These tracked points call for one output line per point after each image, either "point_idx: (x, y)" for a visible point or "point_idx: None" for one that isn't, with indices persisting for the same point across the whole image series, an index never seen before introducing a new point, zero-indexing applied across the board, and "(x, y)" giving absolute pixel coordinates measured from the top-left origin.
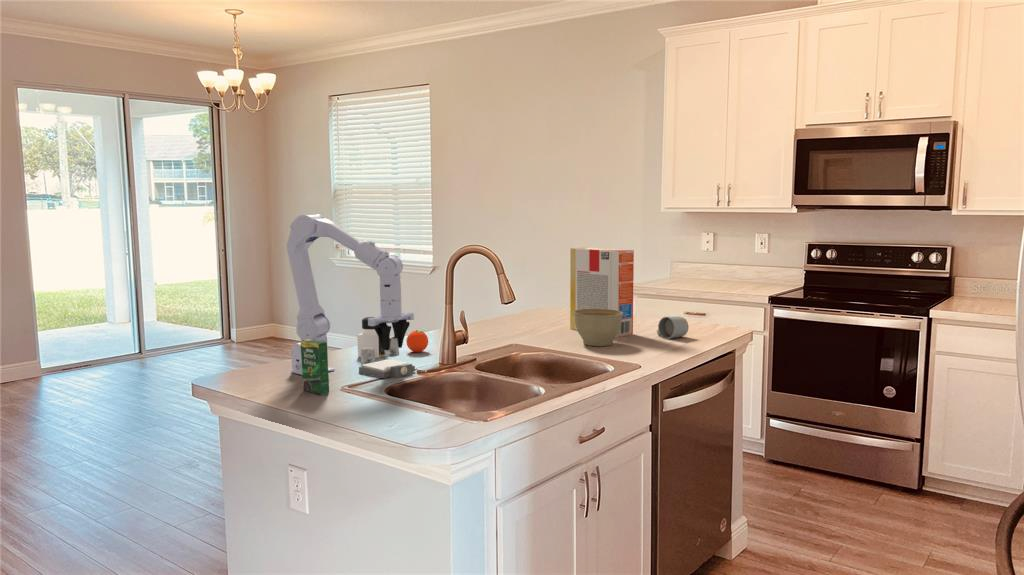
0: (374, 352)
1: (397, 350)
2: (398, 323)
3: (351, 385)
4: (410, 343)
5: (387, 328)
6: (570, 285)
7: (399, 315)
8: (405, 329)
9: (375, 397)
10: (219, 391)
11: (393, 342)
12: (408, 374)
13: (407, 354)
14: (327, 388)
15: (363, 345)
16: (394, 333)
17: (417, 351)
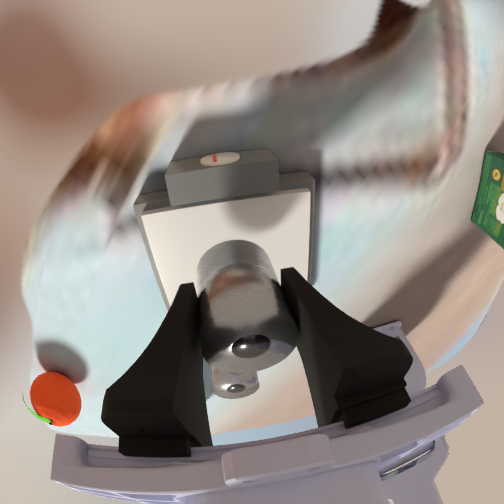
0: (219, 371)
1: (222, 260)
2: (196, 432)
3: (422, 173)
4: (73, 397)
5: (381, 351)
6: None
7: (251, 497)
8: (149, 366)
9: (452, 15)
10: (496, 294)
11: (260, 292)
12: (191, 158)
13: (86, 375)
14: (496, 154)
15: None
16: (203, 382)
17: (61, 374)
